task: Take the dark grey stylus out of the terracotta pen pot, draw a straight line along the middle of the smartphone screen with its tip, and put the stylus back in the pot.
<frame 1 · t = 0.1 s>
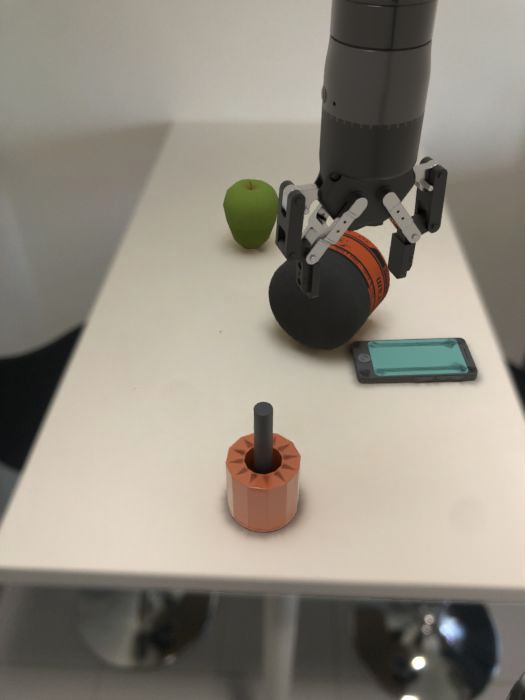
hand: (354, 283, 60), 24 cm above the table, tool pointing down, fingers open, 8 cm apart
pen pot: (263, 503, 71), on the table
apple: (251, 247, 109), on the table
stylus: (263, 500, 70), resting on pen pot
oil filter: (322, 332, 93), on the table
smartphone: (412, 364, 88), on the table
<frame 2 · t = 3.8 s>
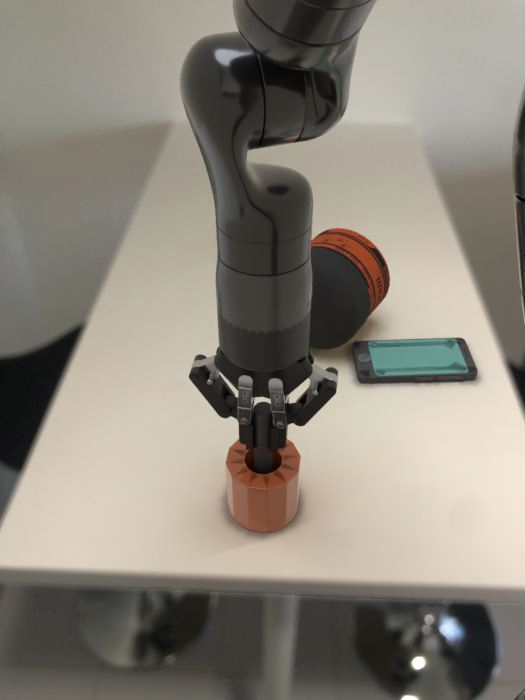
hand: (263, 444, 65), 9 cm above the table, tool pointing down, fingers closed on stylus, 2 cm apart
stylus: (263, 500, 70), resting on pen pot, touching gripper
everything else where it was.
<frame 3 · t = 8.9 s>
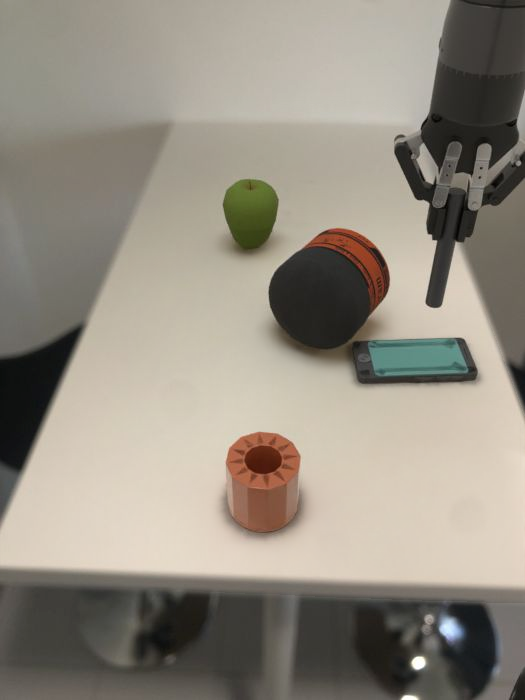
hand: (447, 236, 67), 23 cm above the table, tool pointing down, fingers closed on stylus
stylus: (433, 306, 73), point 14 cm above the table, touching gripper
everything else where it was.
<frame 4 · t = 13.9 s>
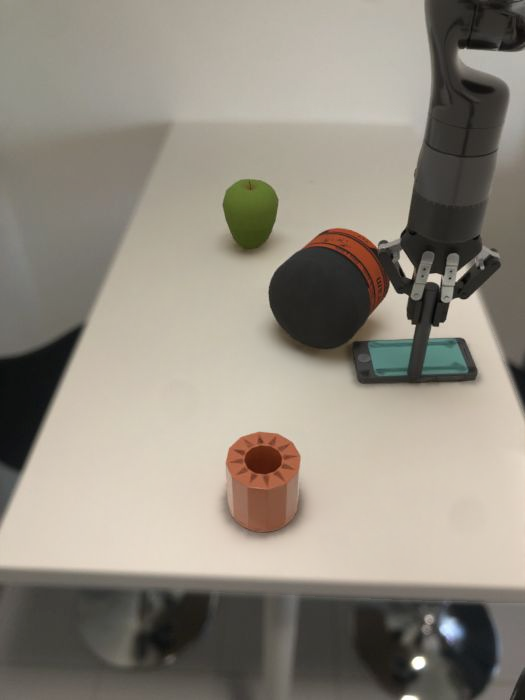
hand: (424, 321, 79), 10 cm above the table, tool pointing down, fingers closed on stylus, 2 cm apart
stylus: (413, 375, 84), point 1 cm above the table, touching gripper
everything else where it was.
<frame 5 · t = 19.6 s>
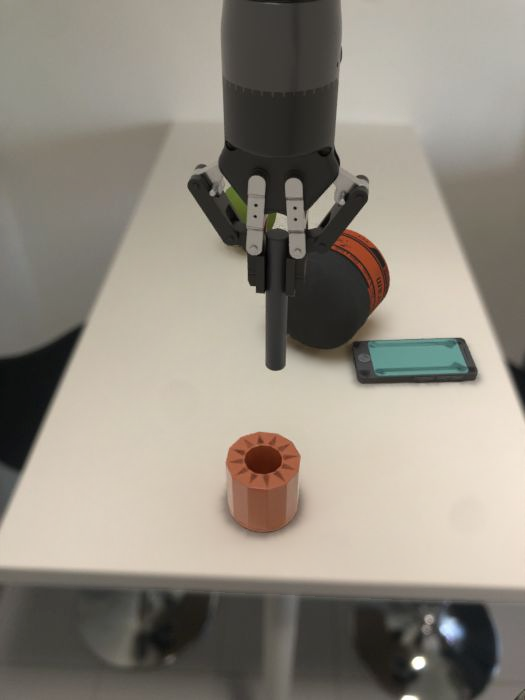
hand: (276, 288, 54), 27 cm above the table, tool pointing down, fingers closed on stylus
stylus: (275, 367, 60), point 18 cm above the table, touching gripper
everything else where it was.
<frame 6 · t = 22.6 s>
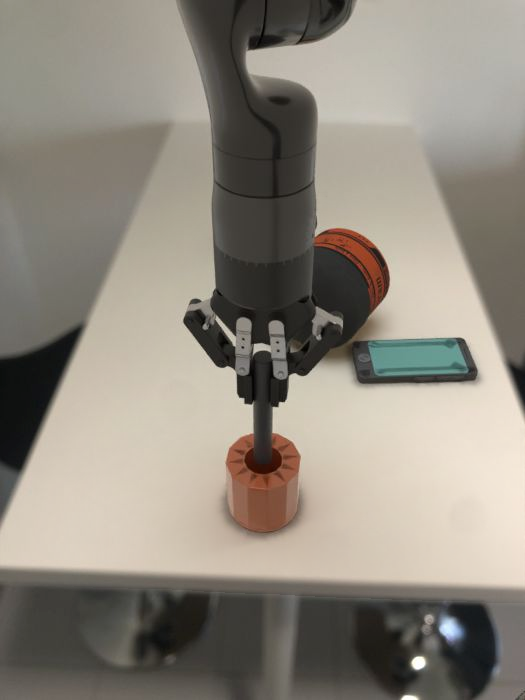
hand: (263, 398, 61), 15 cm above the table, tool pointing down, fingers closed on stylus
stylus: (262, 460, 67), point 7 cm above the table, touching gripper
everything else where it was.
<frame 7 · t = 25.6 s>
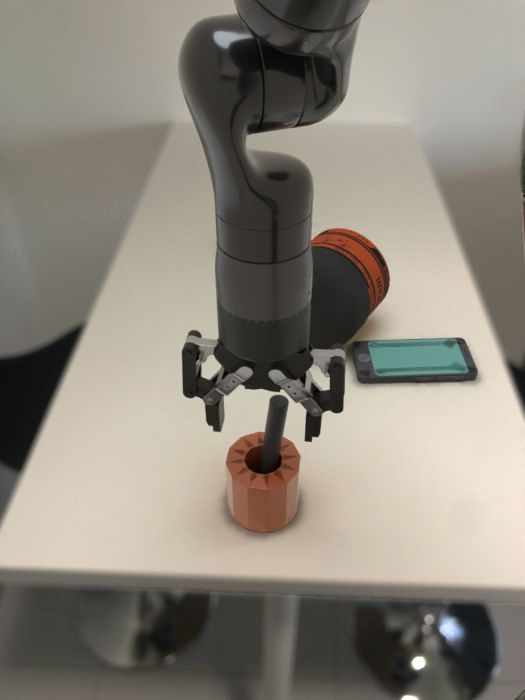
hand: (264, 430, 64), 11 cm above the table, tool pointing down, fingers open, 8 cm apart
stylus: (262, 499, 71), point 1 cm above the table, tilted 8°, touching pen pot
everything else where it was.
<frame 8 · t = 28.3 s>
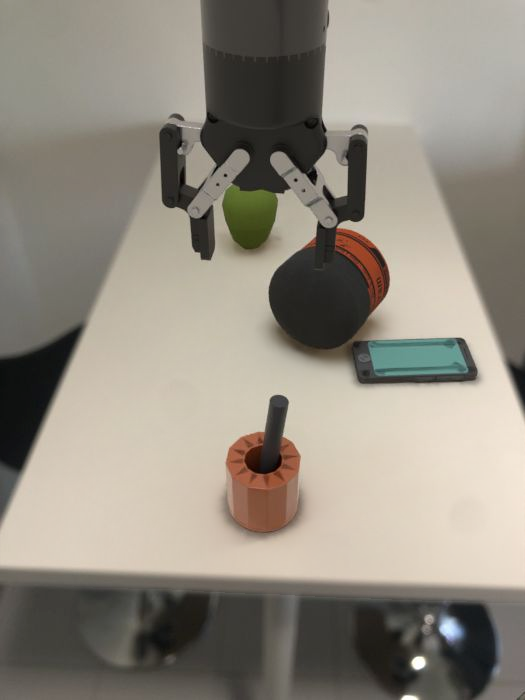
hand: (263, 259, 51), 30 cm above the table, tool pointing down, fingers open, 8 cm apart
nothing on the table moved.
at the end: stylus 0.1 cm off-centre in the pen pot, point 0.5 cm above the pen pot's base; stylus tilted 8°; smartphone moved 0.2 cm from its start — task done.
